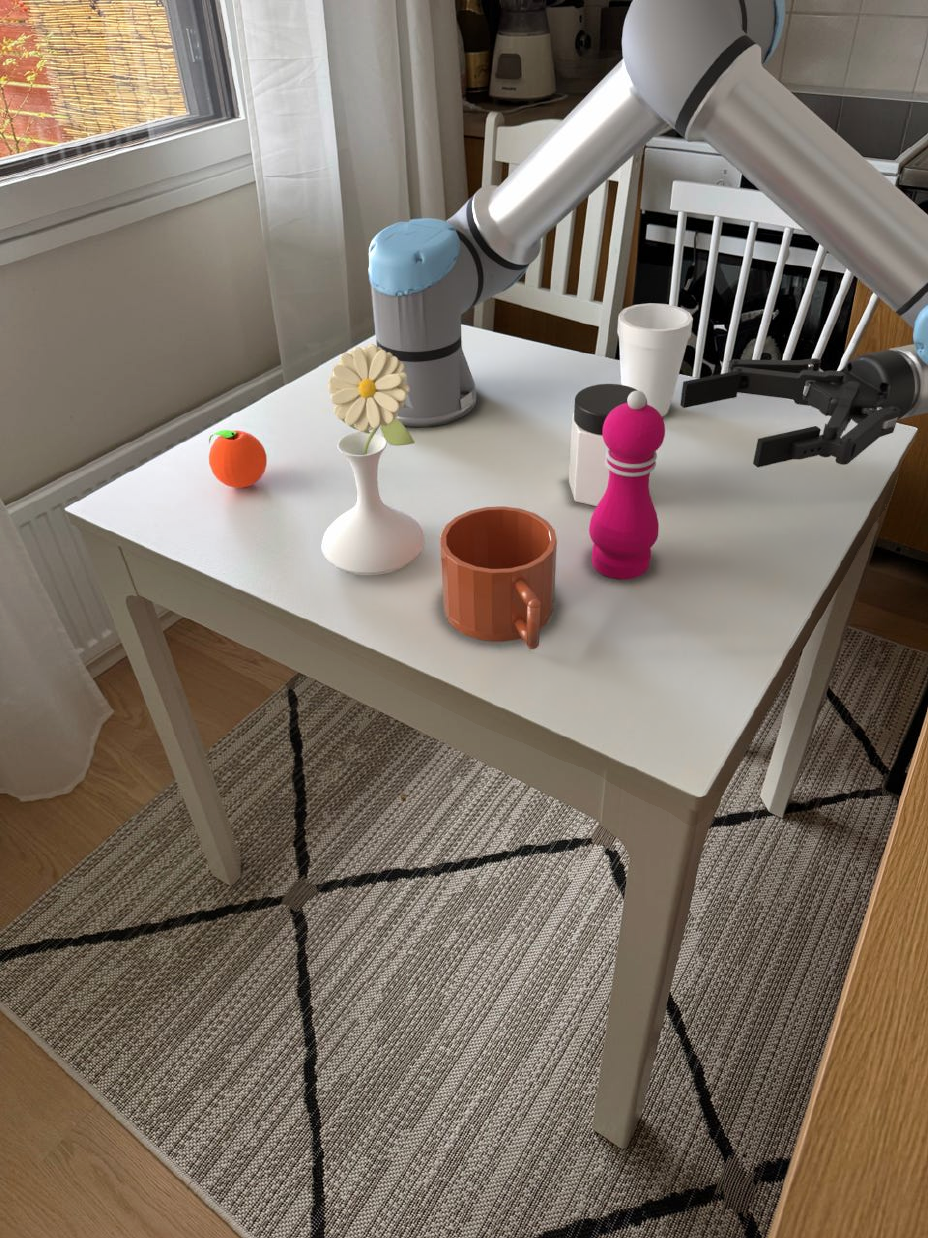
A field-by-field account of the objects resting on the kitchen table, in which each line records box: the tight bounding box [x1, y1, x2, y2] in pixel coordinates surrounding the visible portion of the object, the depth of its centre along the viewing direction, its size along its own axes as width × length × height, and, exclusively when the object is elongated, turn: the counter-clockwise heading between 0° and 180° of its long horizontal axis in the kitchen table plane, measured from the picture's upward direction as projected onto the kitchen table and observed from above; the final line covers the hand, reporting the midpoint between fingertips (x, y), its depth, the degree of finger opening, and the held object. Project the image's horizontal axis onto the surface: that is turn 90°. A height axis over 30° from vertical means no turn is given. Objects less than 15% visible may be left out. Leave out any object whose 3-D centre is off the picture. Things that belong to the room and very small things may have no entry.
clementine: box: [208, 429, 268, 489], centre depth 111 cm, size 8×7×7 cm
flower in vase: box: [321, 343, 426, 576], centre depth 92 cm, size 13×11×25 cm
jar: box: [568, 383, 647, 507], centre depth 106 cm, size 9×8×12 cm
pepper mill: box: [588, 391, 666, 580], centre depth 92 cm, size 7×7×20 cm
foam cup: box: [616, 302, 694, 417], centre depth 121 cm, size 10×9×13 cm
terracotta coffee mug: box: [439, 505, 558, 650], centre depth 89 cm, size 15×11×8 cm
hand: (718, 422), depth 91 cm, fingers open, 13 cm apart
